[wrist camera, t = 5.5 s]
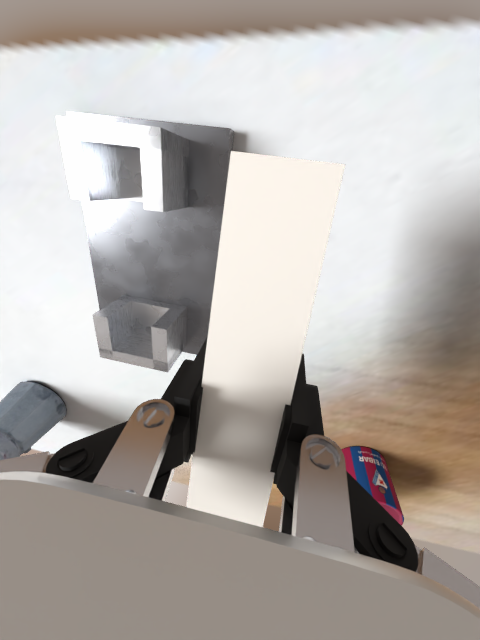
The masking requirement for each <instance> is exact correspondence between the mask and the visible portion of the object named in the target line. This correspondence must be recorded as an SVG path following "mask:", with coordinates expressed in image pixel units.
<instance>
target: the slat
mask: <svg viewBox="0 0 480 640" xmlns="http://www.w3.org/2000/svg"><path fill="white" fill-rule="evenodd" d="M344 168H345V164H337V163H328V162H320V161H312V160H303V159H295V158H286V157H278V156H270V155H261V154H253V153H245V152H236V151H231V154H230V162H229V170H228V178H227V186H226V194H225V202H224V210H223V218H222V226H221V234H220V242H219V250H218V258H217V266H216V274H215V282H214V290H213V298H212V306H211V314H210V322H209V330H208V338H207V346H206V354H205V362H204V370H203V378H202V386H201V387H203V394H202V401H201V409H200V417H199V425H198V432H197V440H196V448H195V453H194V452H193V457H192V465H191V473H190V481H189V489H188V498H187V505H186V507H187V508H191V509H195V510H199V511H203V512H206V513H210V514H214V515H218V516H222V517H225V518H229V519H233V520H237V521H241V522H244V523H248V524H252V525H256V526H259V527H263V522H264V518H265V514H266V509H267V505H268V501H269V496H270V492H271V487H272V483H273V479H274V474H275V473H273V472H270V470H271V465H272V461H273V457H274V452H275V448H276V443H277V439H278V434H279V430H280V425H281V421H282V416H283V412H284V408H285V404H287V405H290V404H291V400H292V396H293V391H294V387H295V382H296V378H297V374H298V369H299V365H300V361H301V356H302V352H303V347H304V343H305V339H306V334H307V330H308V326H309V321H310V317H311V312H312V308H313V304H314V299H315V295H316V291H317V286H318V282H319V277H320V273H321V269H322V264H323V260H324V256H325V251H326V247H327V242H328V238H329V234H330V229H331V225H332V221H333V216H334V212H335V207H336V203H337V199H338V194H339V190H340V186H341V181H342V177H343V172H344Z"/></svg>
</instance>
